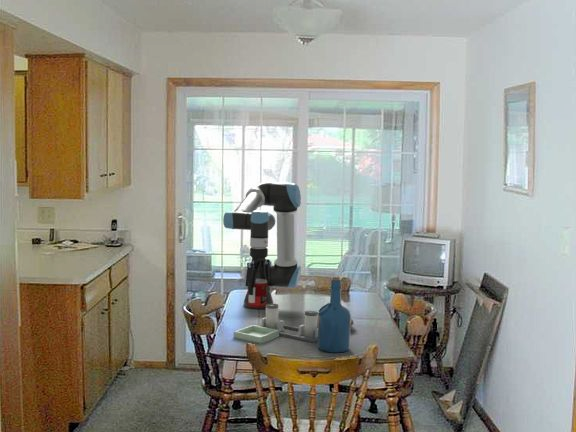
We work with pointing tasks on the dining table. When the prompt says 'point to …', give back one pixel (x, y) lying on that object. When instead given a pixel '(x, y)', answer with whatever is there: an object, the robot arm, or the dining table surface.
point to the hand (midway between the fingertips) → (257, 300)
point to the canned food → (259, 294)
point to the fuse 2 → (310, 323)
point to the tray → (256, 334)
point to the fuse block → (300, 329)
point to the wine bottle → (334, 322)
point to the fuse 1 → (271, 316)
